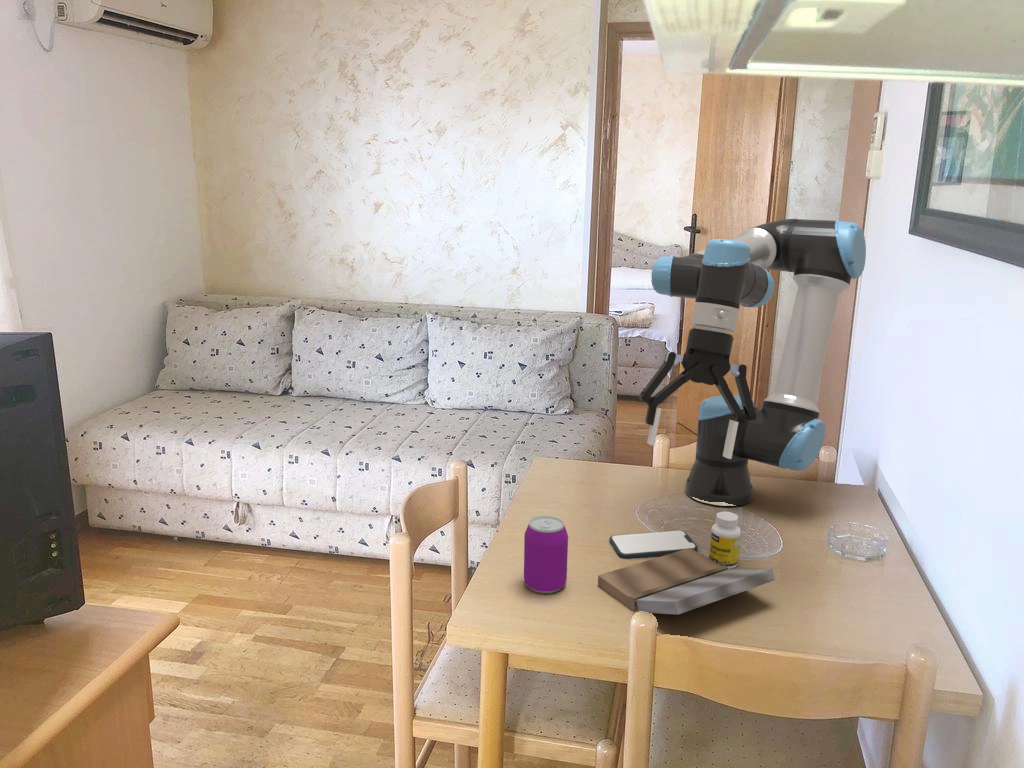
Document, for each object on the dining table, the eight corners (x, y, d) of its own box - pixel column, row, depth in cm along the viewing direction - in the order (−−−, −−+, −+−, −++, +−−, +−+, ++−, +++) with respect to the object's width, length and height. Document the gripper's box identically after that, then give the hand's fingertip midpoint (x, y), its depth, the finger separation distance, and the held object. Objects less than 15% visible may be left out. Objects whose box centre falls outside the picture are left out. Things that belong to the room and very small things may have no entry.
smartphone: (620, 562, 153) (699, 556, 156) (620, 555, 153) (700, 548, 155) (607, 542, 161) (683, 536, 164) (607, 535, 161) (683, 529, 164)
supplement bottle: (703, 563, 152) (707, 515, 149) (717, 553, 156) (721, 507, 153) (729, 573, 148) (733, 524, 146) (743, 563, 152) (747, 515, 150)
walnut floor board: (689, 557, 154) (689, 546, 154) (727, 579, 146) (728, 567, 145) (597, 585, 143) (598, 573, 142) (633, 611, 135) (634, 598, 134)
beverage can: (532, 571, 148) (534, 511, 145) (572, 579, 145) (574, 518, 142) (517, 590, 141) (518, 527, 138) (558, 599, 138) (560, 535, 135)
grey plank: (733, 579, 145) (730, 568, 145) (775, 580, 136) (772, 568, 136) (639, 612, 134) (636, 600, 134) (678, 614, 125) (675, 601, 125)
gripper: (645, 317, 133) (622, 441, 135) (790, 343, 134) (765, 466, 136) (637, 318, 141) (615, 435, 142) (774, 342, 142) (751, 459, 143)
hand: (688, 451), depth 139 cm, fingers open, 13 cm apart
